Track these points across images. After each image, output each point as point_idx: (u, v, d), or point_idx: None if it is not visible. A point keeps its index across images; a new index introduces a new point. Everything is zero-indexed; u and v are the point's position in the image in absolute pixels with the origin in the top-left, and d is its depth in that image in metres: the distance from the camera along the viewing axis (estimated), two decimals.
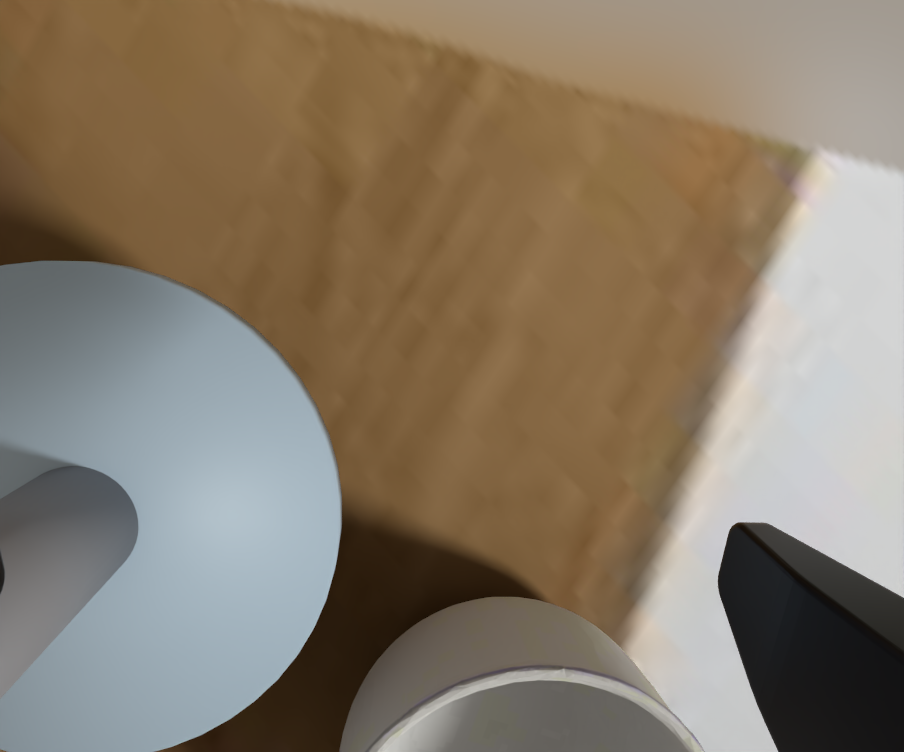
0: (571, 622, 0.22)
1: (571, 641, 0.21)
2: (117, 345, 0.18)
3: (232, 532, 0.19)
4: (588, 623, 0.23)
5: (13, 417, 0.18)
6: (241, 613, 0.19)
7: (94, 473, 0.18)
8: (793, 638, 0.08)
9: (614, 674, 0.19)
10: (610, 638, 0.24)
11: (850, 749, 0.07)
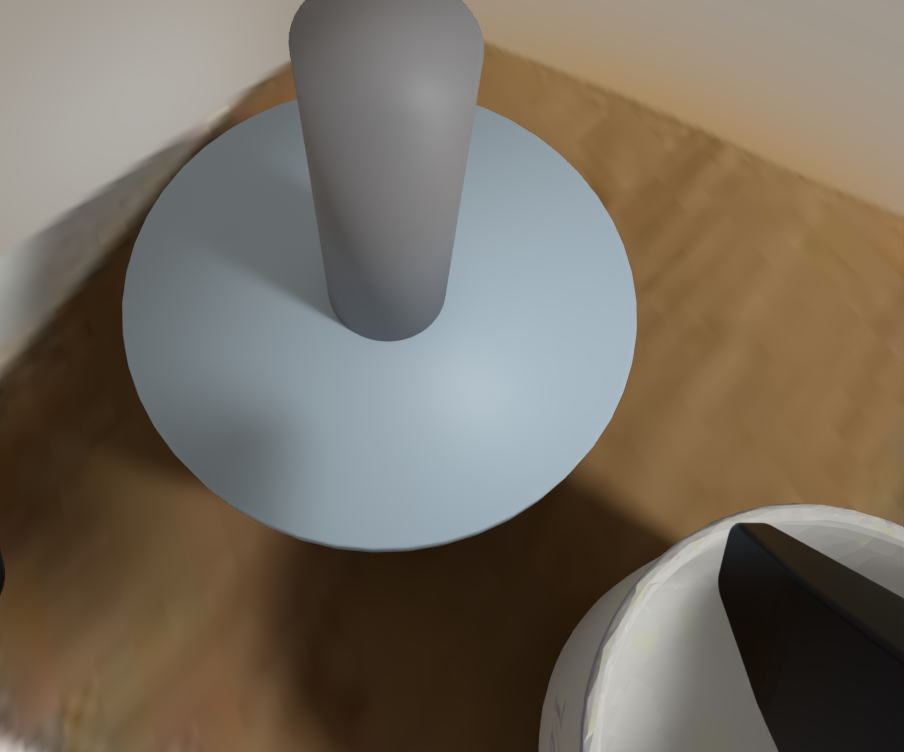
0: None
1: None
2: (469, 159, 0.20)
3: (531, 330, 0.19)
4: None
5: None
6: (521, 411, 0.18)
7: None
8: (793, 638, 0.08)
9: None
10: None
11: (850, 749, 0.07)
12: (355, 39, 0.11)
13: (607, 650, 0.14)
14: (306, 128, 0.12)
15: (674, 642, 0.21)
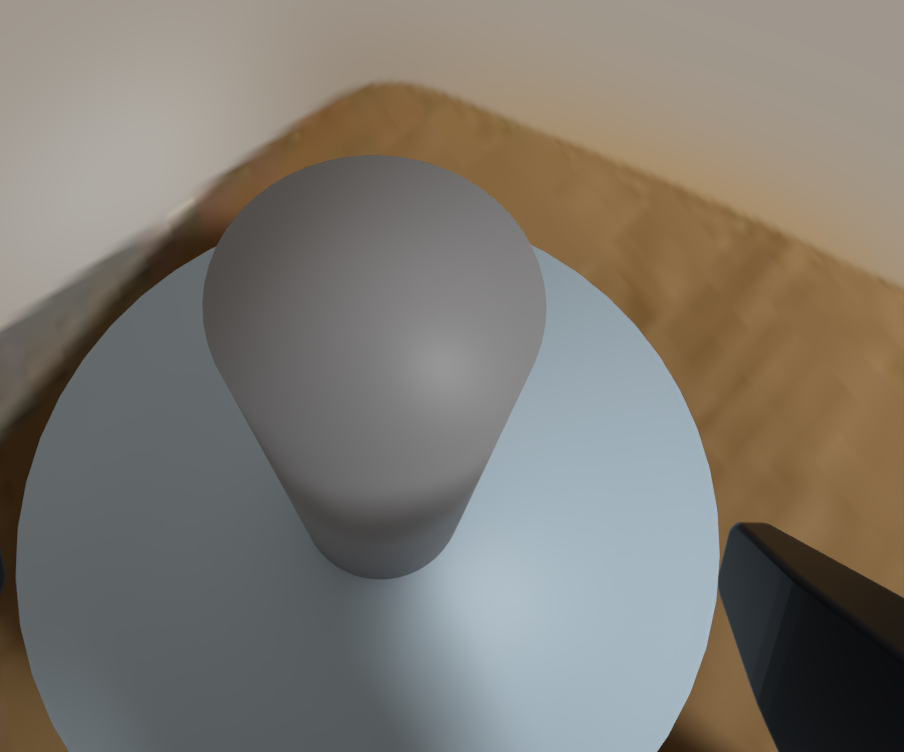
0: None
1: None
2: None
3: (577, 557, 0.14)
4: None
5: None
6: (567, 683, 0.13)
7: None
8: (792, 638, 0.08)
9: None
10: None
11: (849, 749, 0.07)
12: (321, 291, 0.06)
13: None
14: None
15: None
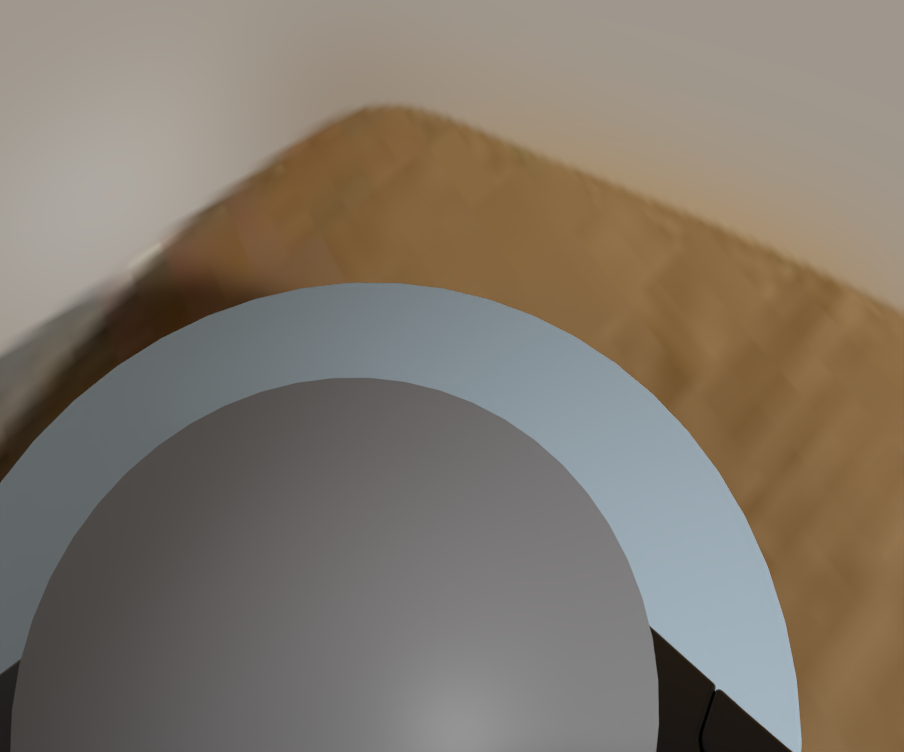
0: None
1: None
2: (510, 409, 0.13)
3: None
4: None
5: None
6: None
7: None
8: None
9: None
10: None
11: None
12: (242, 672, 0.03)
13: None
14: None
15: None
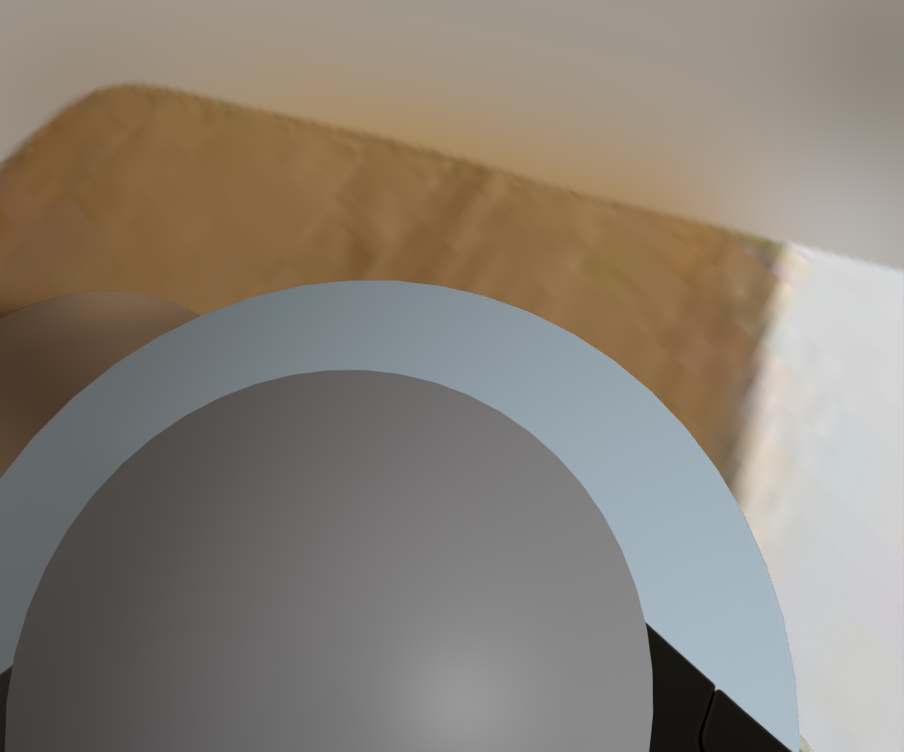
0: None
1: None
2: (509, 407, 0.13)
3: None
4: None
5: None
6: None
7: None
8: None
9: None
10: None
11: None
12: (237, 662, 0.03)
13: None
14: None
15: None
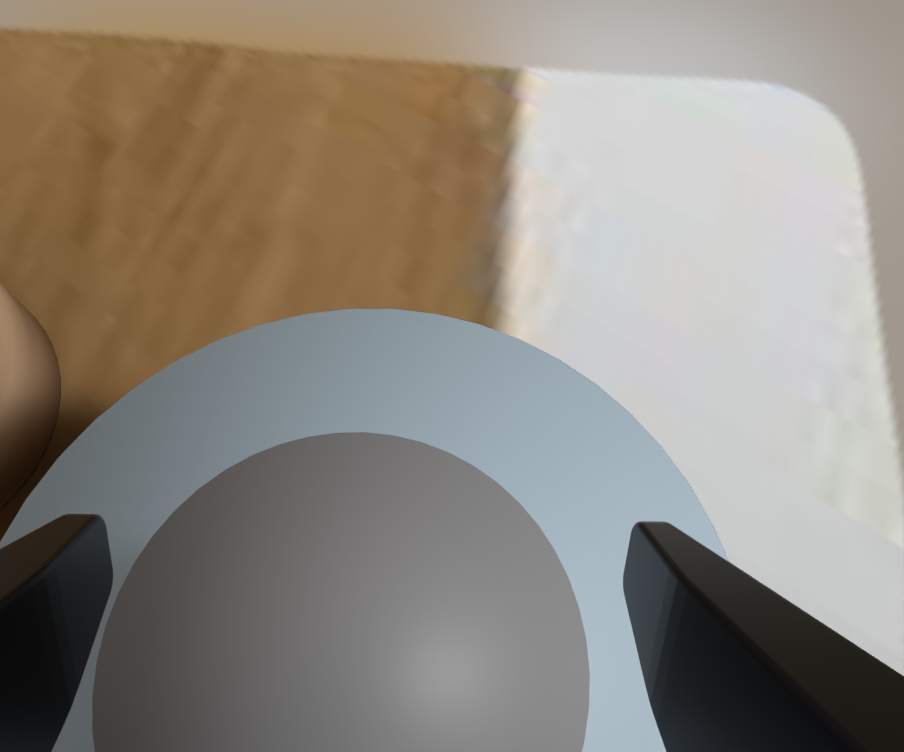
0: None
1: None
2: (498, 427, 0.14)
3: (599, 737, 0.12)
4: None
5: None
6: None
7: None
8: (677, 638, 0.08)
9: None
10: None
11: (721, 751, 0.07)
12: (267, 666, 0.04)
13: None
14: None
15: None
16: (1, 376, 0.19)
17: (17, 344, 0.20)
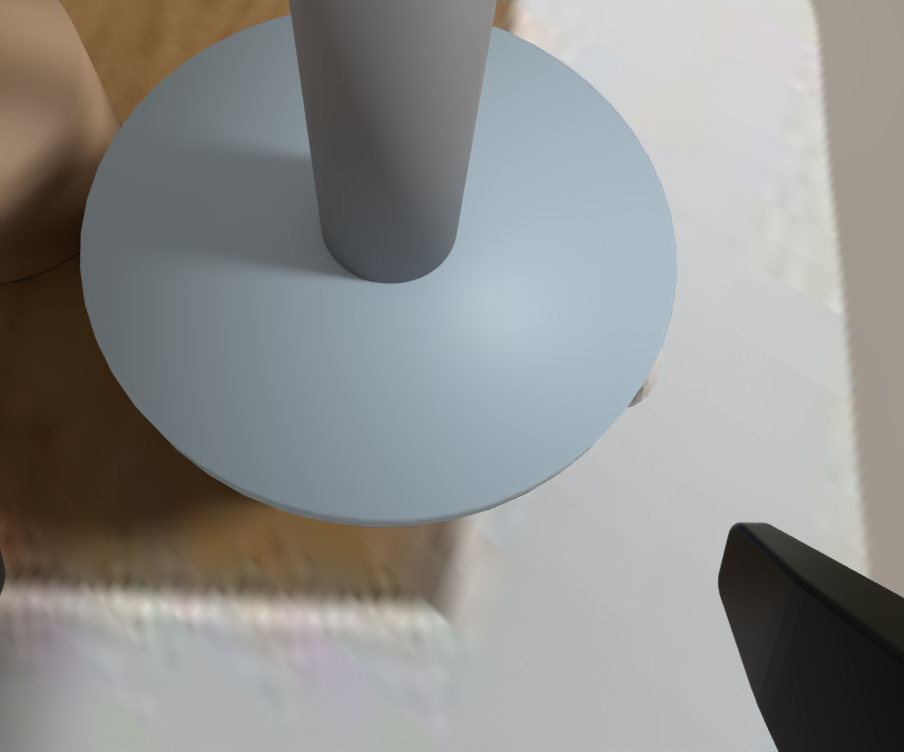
0: None
1: None
2: (486, 84, 0.18)
3: (555, 274, 0.16)
4: None
5: None
6: (543, 366, 0.15)
7: None
8: (793, 638, 0.08)
9: None
10: None
11: (850, 749, 0.07)
12: None
13: None
14: None
15: None
16: (94, 118, 0.23)
17: (104, 103, 0.24)
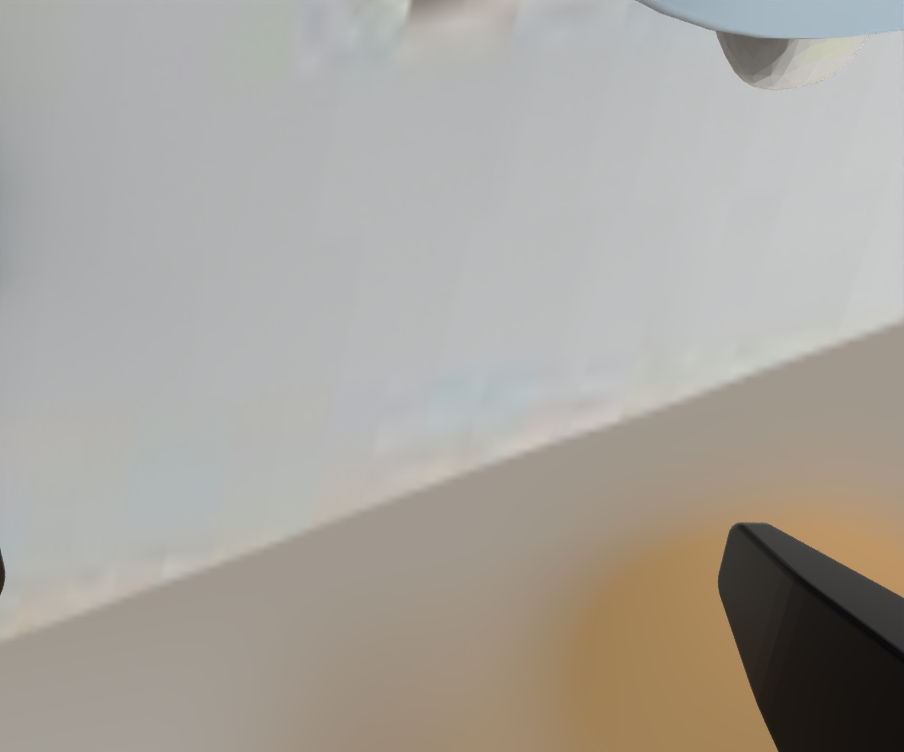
0: None
1: None
2: None
3: None
4: None
5: None
6: None
7: None
8: (793, 638, 0.08)
9: None
10: None
11: (850, 749, 0.07)
12: None
13: None
14: None
15: None
16: None
17: None
